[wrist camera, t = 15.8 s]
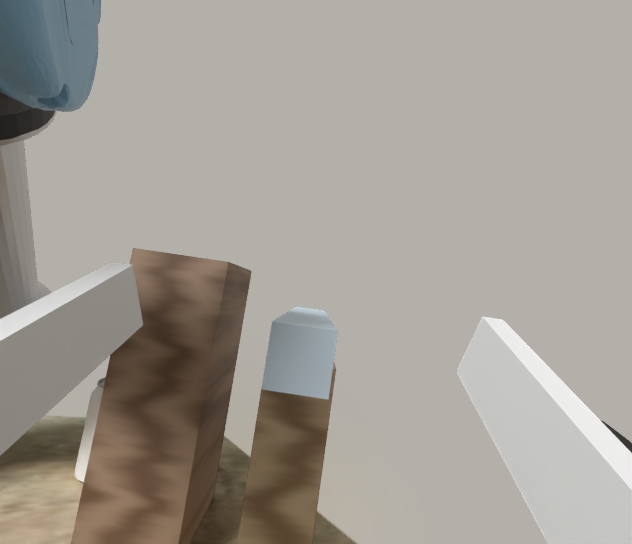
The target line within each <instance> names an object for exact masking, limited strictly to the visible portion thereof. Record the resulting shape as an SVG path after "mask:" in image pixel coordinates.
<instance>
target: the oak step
mask: <svg viewBox="0 0 632 544" xmlns="http://www.w3.org/2000/svg"><path fill="white" fill-rule="evenodd" d="M335 373H336V368H335V364H333V371H332V378H331V386H330V393H329V400H328V399H322V398H315V397H309V396H302V395H295V394H289V393H282V392H276V391H269V390H263V389H261V395H260V401H259V407H258V414H257V420H256V427H255V433H254V439H253V446H252V451H251V458H250V464H249V470H248V476H247V483H246V489H245V495H244V501H243V508H242V514H241V520H240V526H239V533H238V539H237V544H312V541H313V533H314V526H315V519H316V512H317V504H318V496H319V489H320V481H321V475H322V468H323V460H324V453H325V446H326V438H327V431H328V424H329V417H330V410H331V402H332V395H333V387H334V380H335Z"/></svg>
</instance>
